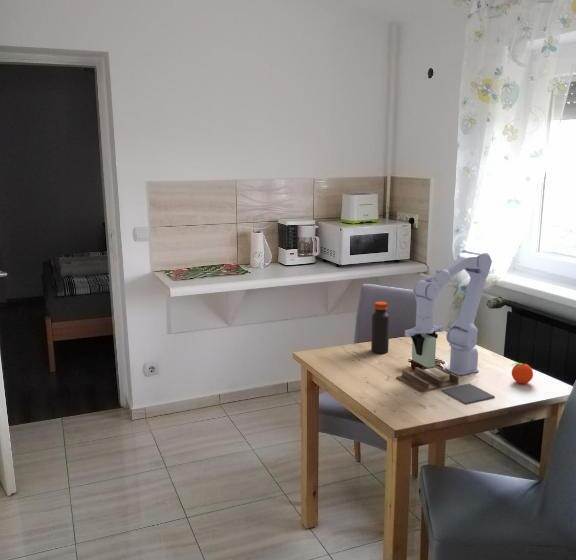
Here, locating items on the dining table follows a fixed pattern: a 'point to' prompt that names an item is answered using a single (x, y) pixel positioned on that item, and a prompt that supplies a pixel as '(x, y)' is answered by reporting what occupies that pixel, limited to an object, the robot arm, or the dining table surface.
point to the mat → (467, 393)
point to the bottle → (380, 329)
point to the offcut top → (437, 373)
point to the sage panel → (426, 351)
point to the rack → (426, 379)
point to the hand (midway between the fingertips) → (423, 353)
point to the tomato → (522, 373)
